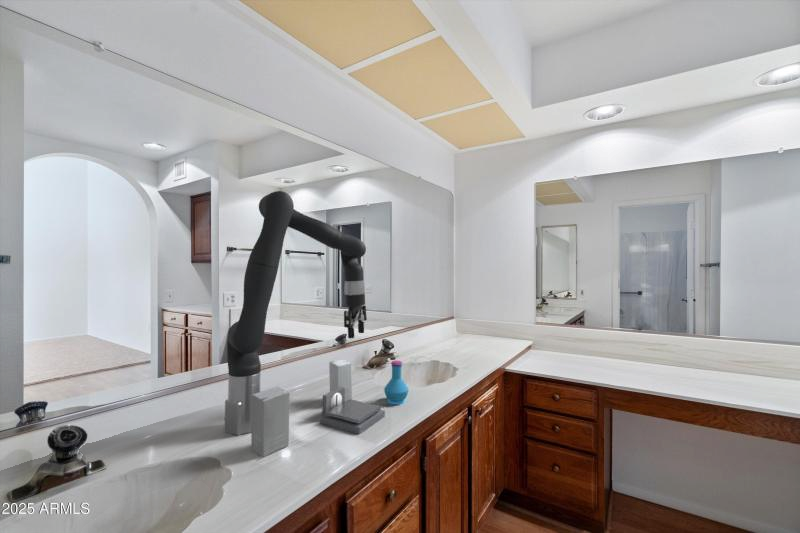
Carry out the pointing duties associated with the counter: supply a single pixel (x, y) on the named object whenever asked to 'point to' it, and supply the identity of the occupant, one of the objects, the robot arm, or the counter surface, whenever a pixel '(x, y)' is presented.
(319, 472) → the counter surface
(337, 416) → the pan
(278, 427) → the skincare box
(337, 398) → the scale base
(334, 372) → the skincare box
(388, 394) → the perfume bottle
